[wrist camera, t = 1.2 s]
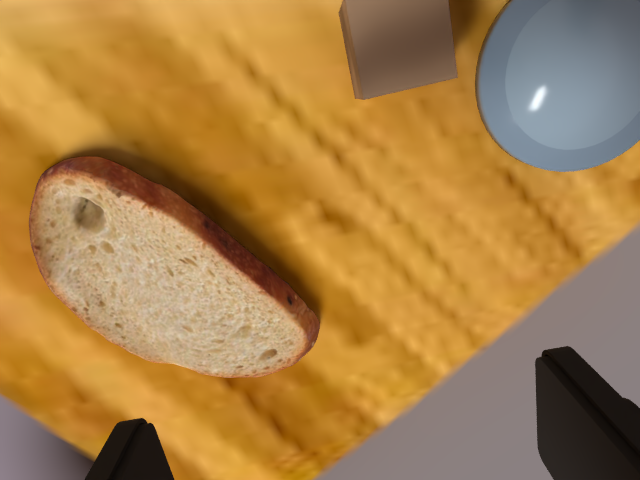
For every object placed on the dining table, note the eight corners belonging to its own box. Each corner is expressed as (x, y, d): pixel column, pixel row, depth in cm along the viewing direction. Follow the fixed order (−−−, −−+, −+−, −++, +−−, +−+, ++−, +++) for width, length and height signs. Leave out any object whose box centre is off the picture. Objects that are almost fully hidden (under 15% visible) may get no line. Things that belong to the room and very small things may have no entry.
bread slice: (326, 356, 35) (328, 387, 31) (101, 391, 35) (77, 424, 32) (282, 120, 29) (278, 125, 25) (15, 166, 30) (-25, 177, 26)
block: (338, 13, 27) (344, -5, 22) (420, -8, 26) (444, -29, 22) (355, 98, 28) (363, 99, 24) (432, 79, 28) (457, 77, 23)
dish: (464, -9, 26) (471, -14, 25) (670, -60, 26) (687, -67, 25) (485, 186, 30) (492, 190, 29) (665, 146, 30) (680, 148, 28)
